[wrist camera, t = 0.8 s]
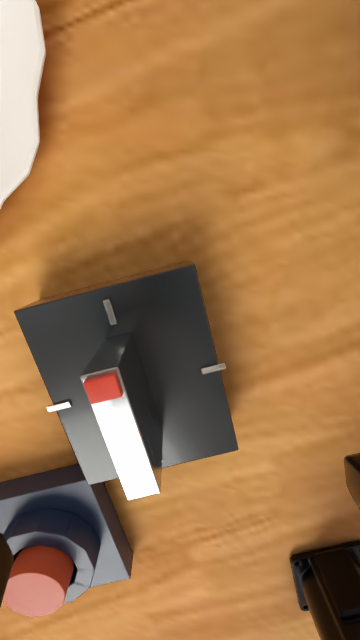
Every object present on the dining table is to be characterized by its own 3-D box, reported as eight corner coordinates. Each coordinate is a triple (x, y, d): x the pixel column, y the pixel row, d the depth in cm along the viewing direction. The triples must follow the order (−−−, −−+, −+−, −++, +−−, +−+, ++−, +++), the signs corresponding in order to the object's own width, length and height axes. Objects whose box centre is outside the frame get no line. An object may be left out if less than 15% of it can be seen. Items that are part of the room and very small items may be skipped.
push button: (82, 579, 20) (73, 609, 19) (28, 590, 20) (15, 622, 19) (62, 538, 19) (51, 566, 17) (5, 551, 19) (-10, 580, 18)
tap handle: (163, 430, 17) (160, 498, 13) (138, 436, 17) (126, 505, 13) (132, 332, 16) (116, 369, 11) (104, 339, 16) (77, 379, 11)
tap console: (234, 420, 21) (245, 451, 18) (94, 453, 21) (81, 489, 18) (196, 258, 18) (201, 262, 15) (32, 301, 18) (4, 313, 15)
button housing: (133, 554, 24) (127, 605, 21) (32, 577, 24) (10, 631, 21) (94, 459, 21) (80, 500, 18) (-18, 486, 22) (-53, 531, 18)
